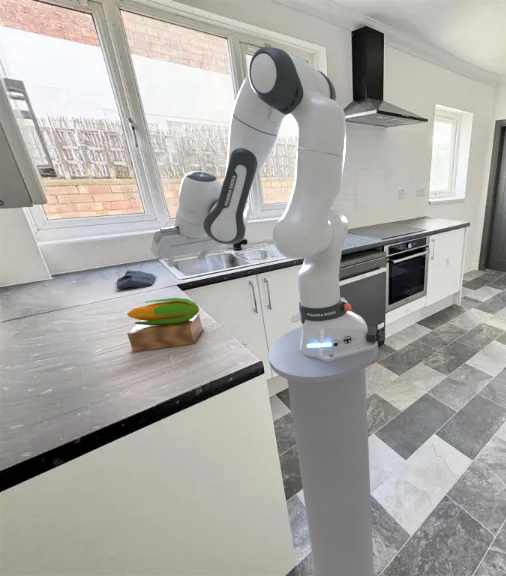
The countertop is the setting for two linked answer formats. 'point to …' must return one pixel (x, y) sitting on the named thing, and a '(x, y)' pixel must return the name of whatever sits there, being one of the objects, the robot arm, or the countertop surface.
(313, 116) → the robot arm
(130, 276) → the dark slate chunk
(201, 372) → the countertop surface
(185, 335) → the block
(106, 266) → the countertop surface
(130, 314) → the corn
